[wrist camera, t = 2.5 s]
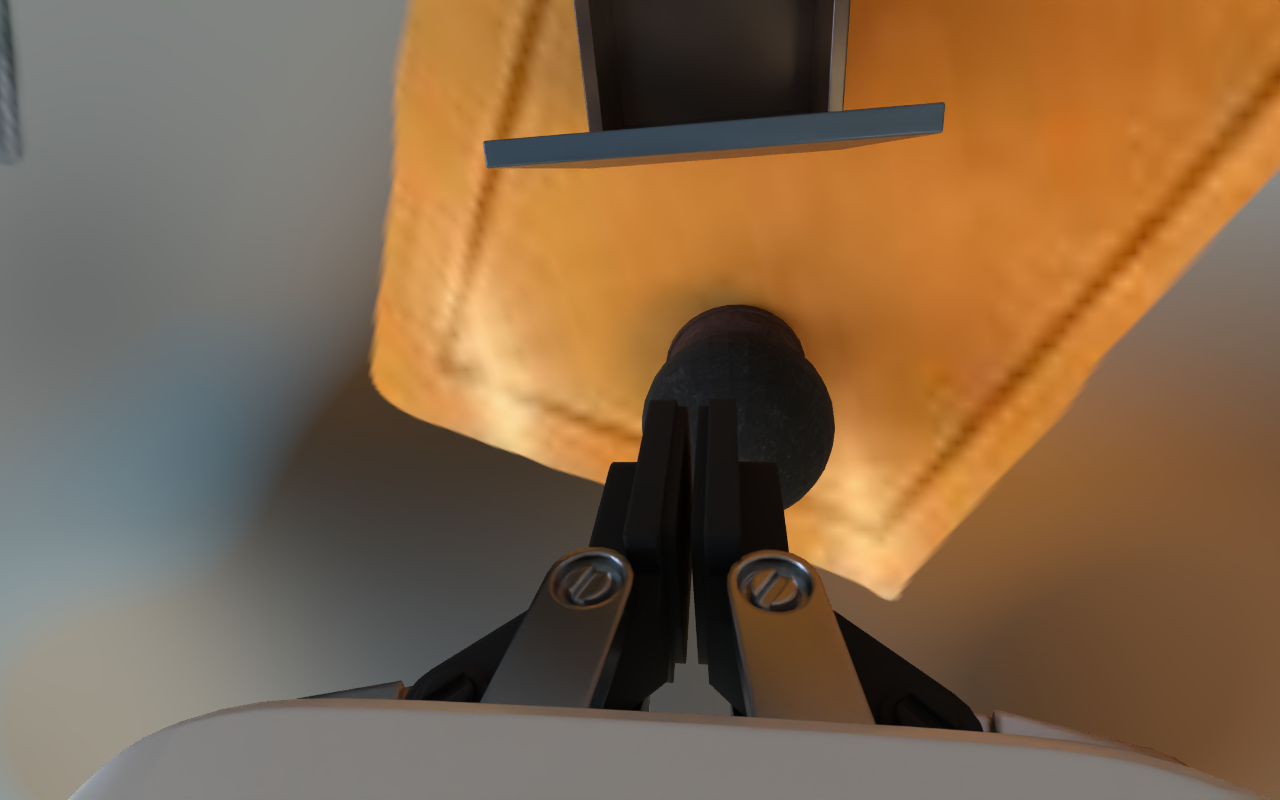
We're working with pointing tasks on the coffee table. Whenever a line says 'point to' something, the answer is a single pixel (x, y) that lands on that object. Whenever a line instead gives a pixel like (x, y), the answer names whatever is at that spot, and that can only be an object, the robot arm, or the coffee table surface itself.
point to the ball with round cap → (753, 391)
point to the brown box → (710, 60)
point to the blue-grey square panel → (718, 139)
